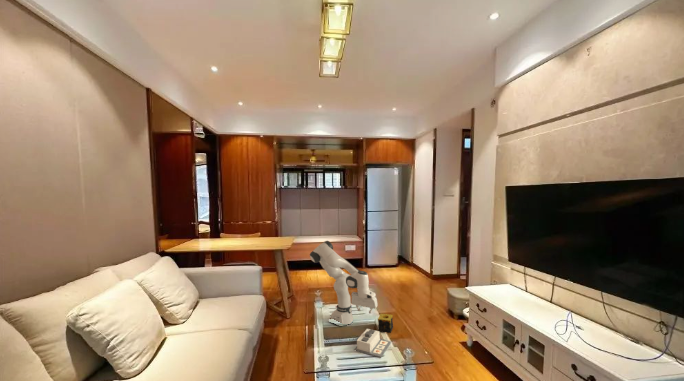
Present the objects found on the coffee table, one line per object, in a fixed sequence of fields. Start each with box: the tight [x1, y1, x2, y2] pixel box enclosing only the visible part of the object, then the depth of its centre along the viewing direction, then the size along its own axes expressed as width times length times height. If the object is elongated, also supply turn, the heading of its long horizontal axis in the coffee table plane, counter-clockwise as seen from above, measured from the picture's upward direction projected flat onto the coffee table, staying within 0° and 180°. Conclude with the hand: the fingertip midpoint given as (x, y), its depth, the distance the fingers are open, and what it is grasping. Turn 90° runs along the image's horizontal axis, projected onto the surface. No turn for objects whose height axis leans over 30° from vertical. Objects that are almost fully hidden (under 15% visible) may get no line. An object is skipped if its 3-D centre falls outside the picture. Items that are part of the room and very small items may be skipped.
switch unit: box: [353, 328, 392, 359], centre depth 182 cm, size 20×19×7 cm
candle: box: [377, 313, 394, 334], centre depth 204 cm, size 10×10×10 cm
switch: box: [365, 331, 372, 338], centre depth 184 cm, size 4×4×6 cm
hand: (364, 312), depth 191 cm, fingers open, 8 cm apart
